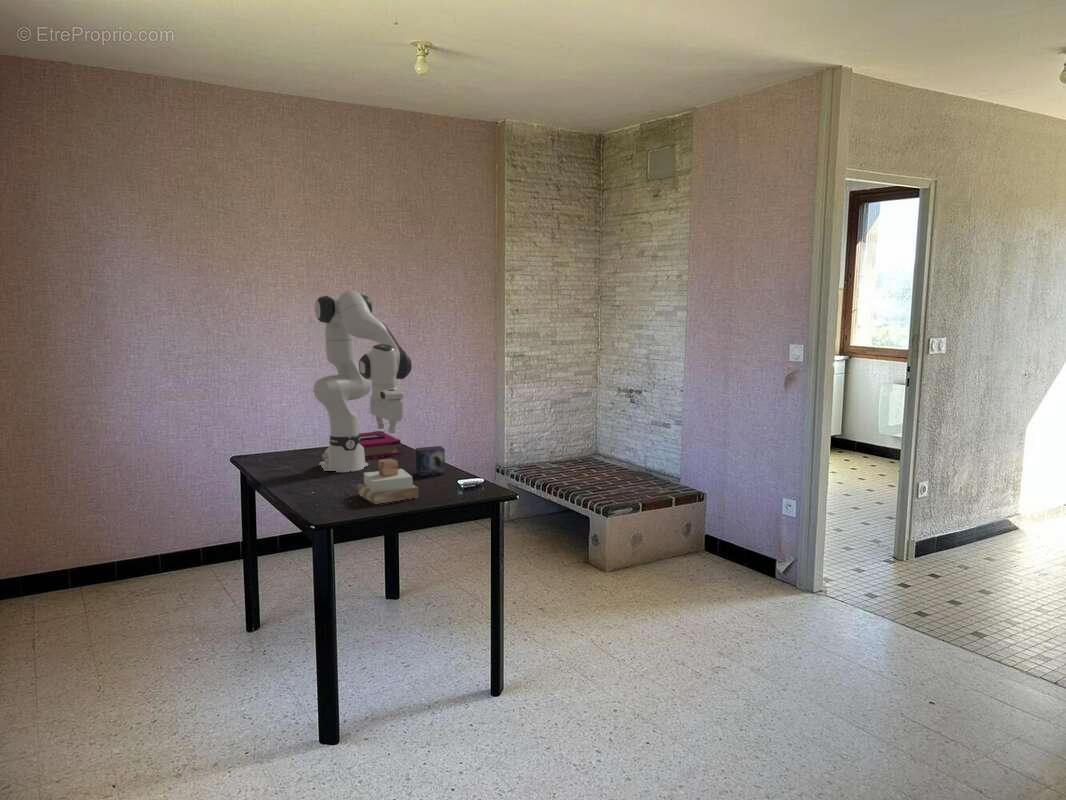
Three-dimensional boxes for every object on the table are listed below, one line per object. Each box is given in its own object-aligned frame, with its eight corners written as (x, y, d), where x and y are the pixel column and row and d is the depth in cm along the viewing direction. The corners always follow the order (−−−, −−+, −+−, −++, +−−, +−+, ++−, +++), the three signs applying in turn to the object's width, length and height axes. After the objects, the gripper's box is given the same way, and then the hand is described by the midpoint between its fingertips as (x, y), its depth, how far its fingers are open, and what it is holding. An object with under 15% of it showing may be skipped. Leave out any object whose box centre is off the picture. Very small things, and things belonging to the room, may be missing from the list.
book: (355, 461, 329) (354, 444, 328) (338, 450, 353) (337, 434, 352) (402, 456, 339) (401, 439, 338) (382, 445, 363) (381, 429, 362)
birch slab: (358, 497, 273) (357, 484, 272) (399, 490, 281) (399, 478, 281) (375, 507, 259) (375, 494, 259) (418, 499, 268) (418, 487, 268)
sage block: (364, 483, 273) (363, 472, 273) (402, 479, 279) (402, 468, 278) (372, 492, 261) (372, 481, 260) (412, 488, 266) (412, 476, 266)
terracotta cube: (379, 474, 270) (378, 460, 270) (391, 472, 273) (391, 458, 272) (385, 476, 266) (384, 462, 266) (398, 474, 269) (397, 460, 268)
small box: (419, 477, 298) (418, 450, 297) (415, 473, 304) (414, 447, 303) (445, 474, 302) (445, 448, 301) (441, 471, 308) (440, 445, 307)
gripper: (364, 389, 272) (366, 427, 274) (388, 395, 255) (389, 436, 257) (381, 387, 276) (382, 425, 278) (405, 394, 259) (406, 434, 261)
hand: (386, 430), depth 267 cm, fingers open, 8 cm apart
